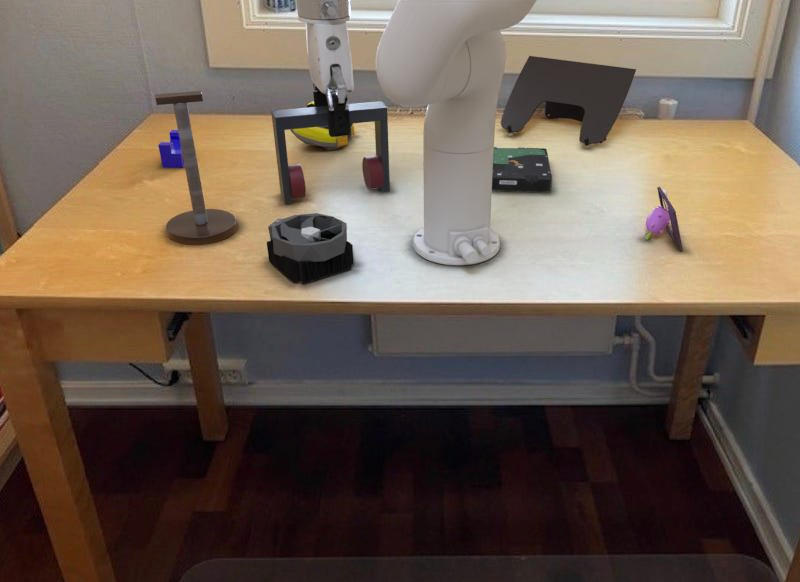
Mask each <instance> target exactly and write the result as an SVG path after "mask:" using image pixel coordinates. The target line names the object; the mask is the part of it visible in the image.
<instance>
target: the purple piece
mask: <svg viewBox="0 0 800 582" xmlns="http://www.w3.org/2000/svg"><path fill="white" fill-rule="evenodd" d="M656 187H657V188H656V189H657V194H658V200H659V203H660V205H657V206H656V205H654V209H653V210H651V212H650V213H649V214H648V215H647V217H646V220H645V228H646V230H647V232H648V233H647V235H646V236H645V238H644V239H645V241H649V239H650V238H651V237H652V236H653V235H654V236H655V235H659V234H661V235H662V234H663V231H664V229H666V230H667V232H668V233H669V235H670V237H671V238H672V240H673V242H674V243H675V246H676V247H677V248H678V250H679V252H682V251H684V250H683V244H682V243H683V242H682V238H681V233H680V228H679V223H678V217H677V212H676V209H675V208H674V206H673V205H672V203H671V202H670V200H669V198H668V197H667V196H668V192H667V190H666V189H663V188H661V186H656ZM670 226H671V227H670Z"/></svg>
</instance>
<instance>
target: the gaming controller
mask: <svg viewBox="0 0 800 582" xmlns="http://www.w3.org/2000/svg"><path fill="white" fill-rule="evenodd" d="M309 107H314V101H311V102H309V103H307V104H306V106H305V108H309ZM354 124H355V123H352V124H350V135H348V136H338V137H331V136H330V135H329V129H328V126H321V127H311V128H300V129H290V132H291V133H292V135H293V136H295V138H296V139H298V140H299V141H301V142H302V143H303V144H305V145H308V146H309V145H310V146H316V147H323V148H324V150H326V151H335V150H337V149H338V148H340V147H344V146H346V145H349V141H350V139H351V138H352V136H354V135H355V125H354Z"/></svg>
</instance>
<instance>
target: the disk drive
mask: <svg viewBox="0 0 800 582" xmlns="http://www.w3.org/2000/svg"><path fill="white" fill-rule="evenodd" d="M548 154H549V153H548V149H547V148H546V147H545V148H544V147H542V148H541V147H516V148H515V147H497V146H494V152H493V174H492V191H496V192H497V191H499V192H515V193H516V192H517V193H547V192H548V193H550V192H552V183H553V176H552V172H551V165H550V160H549V155H548Z"/></svg>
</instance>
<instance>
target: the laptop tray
mask: <svg viewBox="0 0 800 582" xmlns="http://www.w3.org/2000/svg"><path fill="white" fill-rule="evenodd" d="M636 72H637V68H629V67H623V66H613V65H606V64H600V63H599V64H598V63H589V62H582V61H576V60H575V61H574V60H566V59H560V58H559V59H558V58H551V57H542V56H535V55H528V58H527V59H526V61H525V63H524V65H523V66H522V68H521V71H520V72H519V74H518V76H517V79H516V81H515V83H514V85H513V88H512V89H511V92H510V94H509V97H508V99H507V102H506V103H505V107H504V110H503V113H502V117H501V121H500V126H501V128H502V129H503V130H505V131H507V135H508V137H513V136H514V134H515V133H520V132H522V130H523V129H524V128H525V127H526V125H527V124H528V122H530V120H531V118H532V117H533V115H534V113H535V112H536V110H537V109H538V107H539V106H540V105H542V104H545V105H544V106H545V107H544V117H545V118H546V119H547V120H558V119H569V120H573V121H577V122H580V123H581V126H580V131H579V140H578V141H579V142H580V143H581V144H583V145H584V148H585V149H587V150H588V149H589V148H590V147H591V145H597V144H603V142H606V141H607V138H608V135H609V134H610V132H611V130H612V129H613V127H614V125H615V123H616V121H617V119H618V117H619V115H620V113H621V110H622V108H623V106H624V104H625V101H626V100H627V99H626V98H627V96H628V94H629V92H630V89H631V86H632V83H633V79H634V77H635V74H636Z"/></svg>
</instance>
